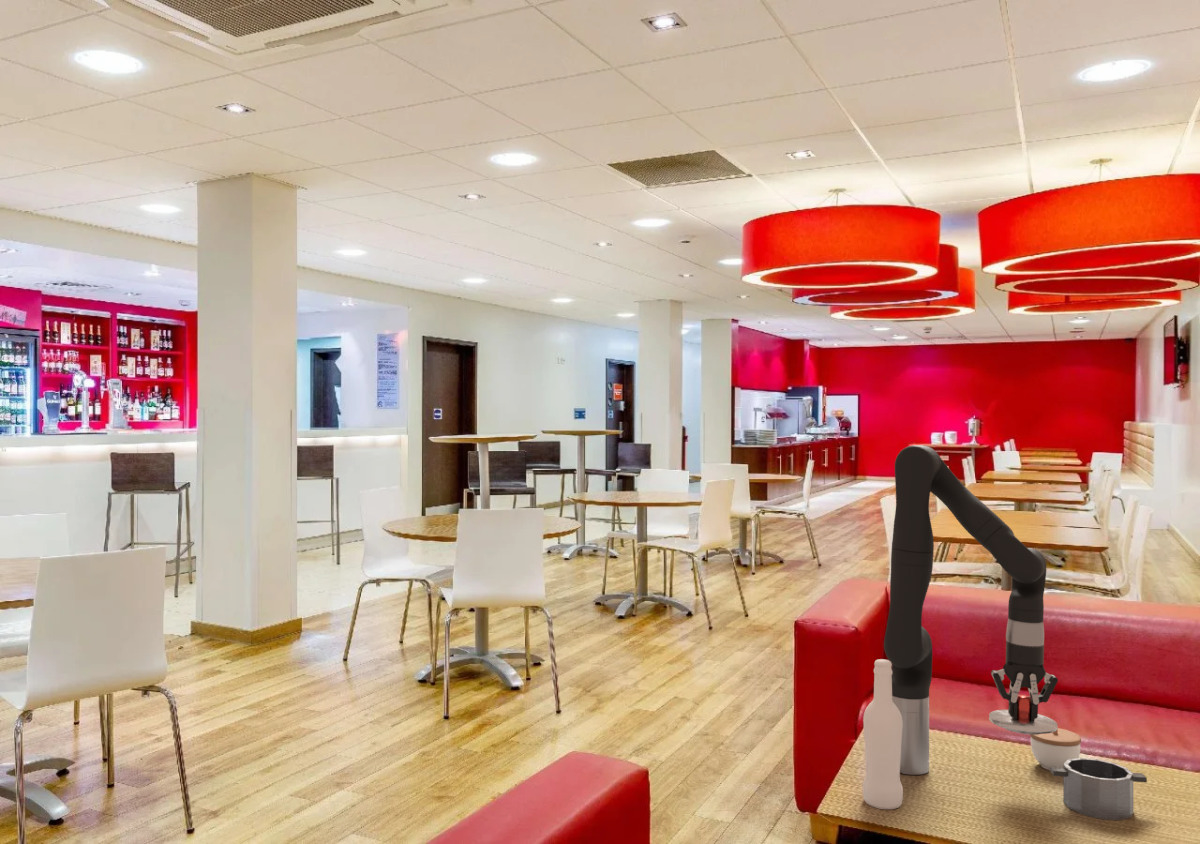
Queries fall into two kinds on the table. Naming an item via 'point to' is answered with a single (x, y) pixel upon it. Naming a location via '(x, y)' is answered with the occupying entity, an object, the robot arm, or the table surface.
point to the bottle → (882, 743)
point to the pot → (1098, 788)
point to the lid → (1023, 719)
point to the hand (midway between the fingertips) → (1022, 718)
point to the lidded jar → (1055, 747)
